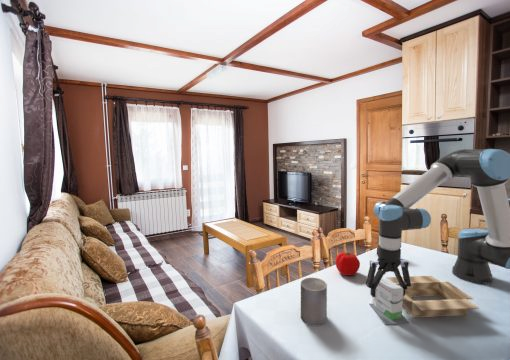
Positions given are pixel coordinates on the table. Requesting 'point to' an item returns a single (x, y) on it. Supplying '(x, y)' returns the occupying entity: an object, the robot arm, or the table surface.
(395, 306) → the ink box
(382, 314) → the mat
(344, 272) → the tomato
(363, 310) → the table surface
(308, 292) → the pillar candle
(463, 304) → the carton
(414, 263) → the table surface
